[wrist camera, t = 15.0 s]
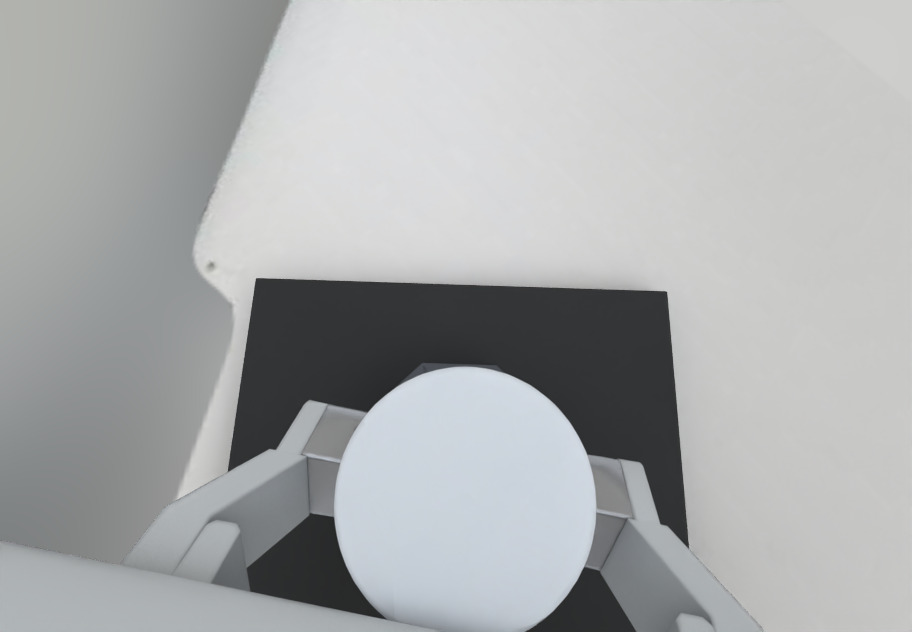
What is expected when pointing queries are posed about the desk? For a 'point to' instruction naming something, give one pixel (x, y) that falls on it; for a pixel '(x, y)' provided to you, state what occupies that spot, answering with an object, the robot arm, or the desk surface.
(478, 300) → the socket pad
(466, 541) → the pill bottle
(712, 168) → the desk surface
